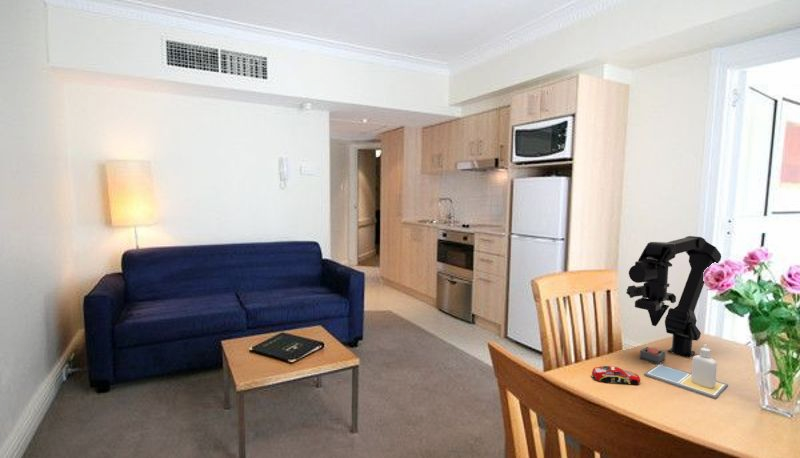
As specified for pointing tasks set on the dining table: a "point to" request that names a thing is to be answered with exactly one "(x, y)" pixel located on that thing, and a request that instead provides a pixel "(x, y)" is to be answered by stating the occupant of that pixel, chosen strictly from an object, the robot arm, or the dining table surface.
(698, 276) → the robot arm
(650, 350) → the button
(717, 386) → the grey flat rectangular board
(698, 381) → the eye dropper bottle
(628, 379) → the race car
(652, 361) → the button housing
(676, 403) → the dining table surface
